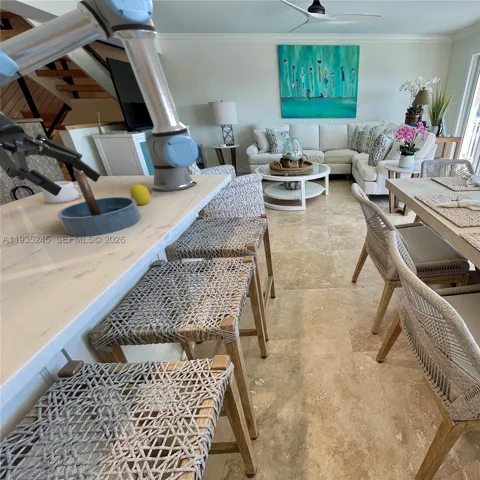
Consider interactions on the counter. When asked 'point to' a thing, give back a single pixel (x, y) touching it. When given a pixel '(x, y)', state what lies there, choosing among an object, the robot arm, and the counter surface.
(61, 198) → the mug
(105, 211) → the bowl
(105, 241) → the counter surface
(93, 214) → the brown wooden pestle
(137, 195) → the lemon
